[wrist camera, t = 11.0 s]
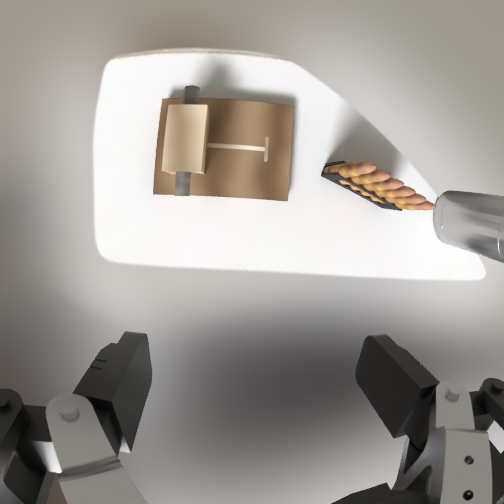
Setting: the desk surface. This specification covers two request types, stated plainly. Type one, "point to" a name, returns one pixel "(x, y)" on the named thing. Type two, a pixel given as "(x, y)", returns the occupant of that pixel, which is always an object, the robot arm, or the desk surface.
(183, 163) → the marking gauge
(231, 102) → the walnut board
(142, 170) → the desk surface
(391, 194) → the ammunition clip
